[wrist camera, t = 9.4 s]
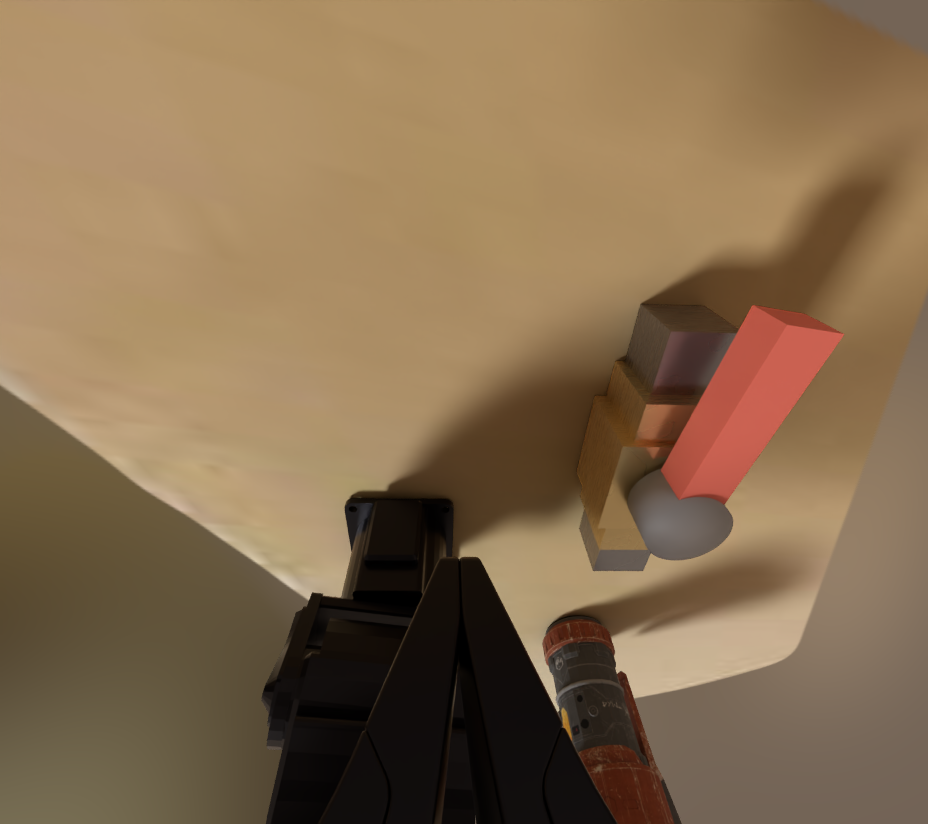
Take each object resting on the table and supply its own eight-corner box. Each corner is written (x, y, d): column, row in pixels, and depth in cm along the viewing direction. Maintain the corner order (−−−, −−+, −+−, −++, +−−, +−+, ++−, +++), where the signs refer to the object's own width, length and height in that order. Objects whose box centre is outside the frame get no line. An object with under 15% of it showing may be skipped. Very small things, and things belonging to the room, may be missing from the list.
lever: (684, 525, 21) (707, 563, 19) (616, 518, 20) (632, 556, 19) (822, 316, 15) (874, 341, 13) (729, 300, 15) (769, 324, 13)
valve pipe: (640, 528, 28) (669, 587, 24) (562, 528, 28) (579, 587, 24) (728, 306, 20) (790, 345, 16) (617, 303, 19) (655, 342, 16)
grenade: (594, 660, 37) (668, 929, 25) (521, 638, 35) (561, 922, 22) (640, 627, 34) (749, 910, 22) (564, 601, 32) (637, 901, 20)
